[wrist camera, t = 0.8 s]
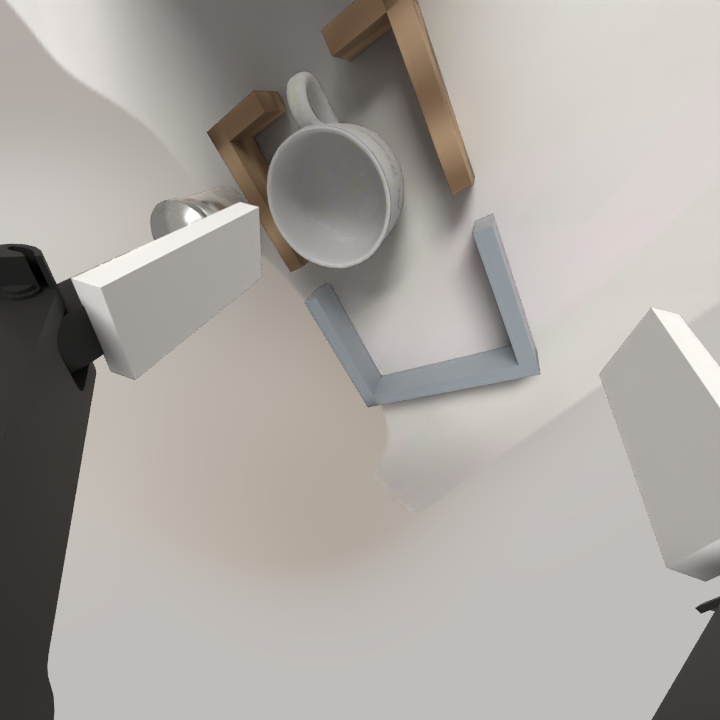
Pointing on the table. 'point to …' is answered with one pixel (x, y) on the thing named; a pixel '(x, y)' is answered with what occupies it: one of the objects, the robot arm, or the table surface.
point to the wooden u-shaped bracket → (347, 40)
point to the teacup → (332, 183)
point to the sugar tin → (191, 209)
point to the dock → (440, 375)
